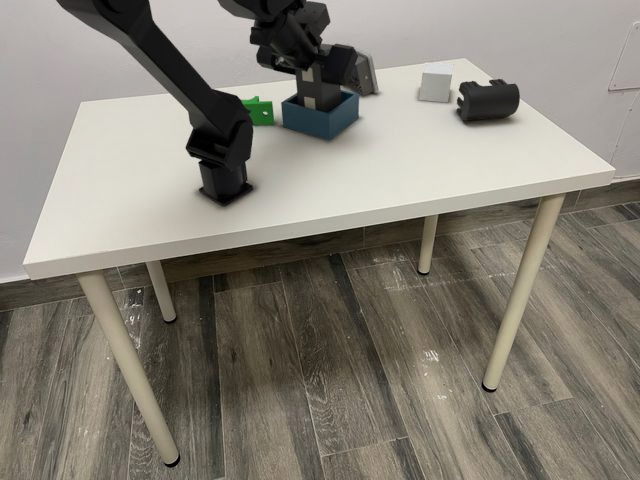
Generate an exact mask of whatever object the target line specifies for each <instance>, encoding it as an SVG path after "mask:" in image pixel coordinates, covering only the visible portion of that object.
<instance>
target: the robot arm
mask: <svg viewBox="0 0 640 480" xmlns="http://www.w3.org/2000/svg"><path fill="white" fill-rule="evenodd" d="M55 1H56V3H57V4H58V5H59V6H60V8H62V9H63V10H65V11H66V12H67V13H69V14H70V15H71V16H72V17H74V18H76V19H77V20H79V21H80V22H82V23H83V24H84V25H86V26H87V27H89V28H91V29H93V30H95V31H97V32H99V33H100V34H102V35H104V36H105V37H108V38H109V39H111V40H113V41H114V42H116V43H118V44H119V45H120V46H121V47H122V48H123V49H124V50H125V51H126V52H127V53H128V54H129V55H130V56H132V58H133V59H134V60H135V61H136V62H137V63H138V64H139V65H140V66H142V68H144V69H145V71H147V72H148V74H149V75H150V76H151V77H153V79H155V80H156V82H158V84H160V85H161V86H162V87H163V88H164V89H165V90H166V91H167V92H168V93H169V94H170V95H171V96H172V97H173V98H174V99H175V100H176V101H177V102H178V103H179V104H180V105H181V106H182V107H183V108H184V109H185V110H186V111H187V114H188V121H189V124H190V126H191V127H192V130H191V132H190V134H189V137H188V140H187V142H186V145H185V148H184V149H185V151H186V152H187V154H188V155H189V157H191V158H193V159H197V160H199V161H198V163H197V164H198V167H199V172H200V177H201V181H202V187H199V188H198V192H199V194H201V195H203V196H205V197H207V198H208V199H210V200H211V201H213V202H215V203H217V204H218V205H220V206H222V207H226V206H227V205H229V204H231V203H232V202H235V201H237V200H238V199H239V198H241V197H243V196H244V195H246V194H248V193H249V192H251V191H253V190H254V185H253V184H251V183H249V182H248V181H249V178H248V171H247V163H246V162H247V161H249V160H250V159H251V156H252V148H253V140H254V125H253V121H252V119H251V117H250V116H249V115H248V114H249V113H251V110H248V109H246V108H245V107H244V105H243V103H242V101H241V100H242V99H241V98H240V97H239V96H238V95H236V94H233V93H230V92H227V91H222V90H218V89H215V88H212V87H211V86H210V85H209V84H208V82H207V81H206V80H205V79H204V78H203V76H202V75H201V74H200V73H199V72H198V71H197V70H196V68H195V67H194V66H193V65H192V64H191V63H190V61H189V60H188V59H187V58H186V57H185V56H184V55H183V54H182V52H181V51H180V50H179V49H178V47H176V46H175V45H174V43H173V42H172V41H171V40H170V38H169V37H168V36H167V35H166V33H164V32H163V30H162V29H161V28H160V27H159V26H158V25H157V24H156V22H155V20H154V17H153V13H152V8H151V3H150V0H55ZM216 1H217V2H218V4H219V6H220V8H222V9H224V10H225V11H226V12H228V13H229V14H230V15H232V16H233V17H235V18H240V19H241V18H242V19H247V20H251V21H254V22H253V25H252V26H251V27H250V35H249V44H250V45H253V46H258V49H257V51H256V54H255V59H256V63H257V64H258V65H259V66H260V67H261V68H265V69H269V70H273V71H274V72H277V73H283V74H287V75H292V76H296V75H295V69H297V70H301V71H306V72H307V71H308V69H309V68H311V66H312V64H313V63H316V64H321V65H323V70H322V76H323V78H322V80H321V82H325V83H329V84H333V85H340V86H341V87H345V86H344V85H346V84H347V83H348V81H349V78H350V76H351V73H352V71H353V68H354V66H355V64H356V61H357V59H358V54H357V52H356V50H355V49H354V47H355V46H354V47H352V46H353V45H352V46H347V45H345V44H341V43H334V44H331V45H332V47H331V48H330V49H329V50H328V51H327V50H322V49H317V47H318V46H320V45H321V44H323V43H322V42H323V41H324V39H323V38H322V36H321V35H322V34H323V33H324V31H325V30H326V28H327V27H328V26H330V24H331V17H330V13H329V10H328V7H327V4H326V3H324V2H318V1H311V0H308V1H307V0H216Z"/></svg>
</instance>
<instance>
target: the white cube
mask: <svg viewBox="0 0 640 480" xmlns="http://www.w3.org/2000/svg"><path fill="white" fill-rule="evenodd" d="M453 72H454V64H453V63H440V62H426V61H425V62H424V65H423V70H422V74H421V83H420V91H419V100H418V101H426V102H437V103H438V102H439V103H448V102H449V97H450V90H451V85H452V77H453Z"/></svg>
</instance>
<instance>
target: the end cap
mask: <svg viewBox="0 0 640 480" xmlns="http://www.w3.org/2000/svg"><path fill="white" fill-rule="evenodd" d="M488 83H489V84H490V85H481V84H479V83H478V82H477V81H476V80H471V81H463V82H461V83H460V84H459V87H458V92H459V94H461V95H462V97H463V99H462V97H460V96H457V99H456V105H457V106H458V107H457V108H456V111H455V112H456V114H457V115H458V117H460V119H461V120H462V121H475V120H487V119H499V118H507V117H510V116H512V115H514V114H516V112H517V111H518V109H519V107H520V106H519V105H520V101H521V95H520V94H521V93H520V89H519V87H518V85H517V84H516V83H508V82H506V81H505V80H504V79H503V78H497V79H489V80H488Z"/></svg>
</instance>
